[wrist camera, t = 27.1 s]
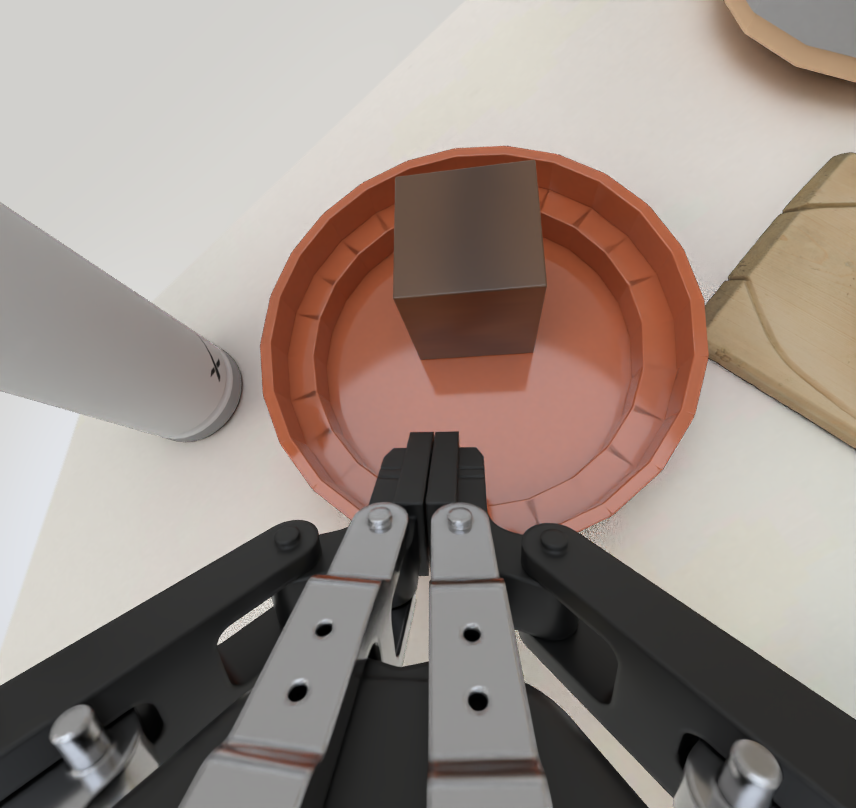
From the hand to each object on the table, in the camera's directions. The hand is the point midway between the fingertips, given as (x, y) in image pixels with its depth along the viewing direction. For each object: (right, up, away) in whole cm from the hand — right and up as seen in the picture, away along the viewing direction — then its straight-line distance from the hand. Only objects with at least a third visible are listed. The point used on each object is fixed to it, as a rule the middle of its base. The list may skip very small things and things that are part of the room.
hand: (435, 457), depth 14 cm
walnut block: (+2, +7, +12) cm, 14 cm away
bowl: (+2, +4, +12) cm, 13 cm away
